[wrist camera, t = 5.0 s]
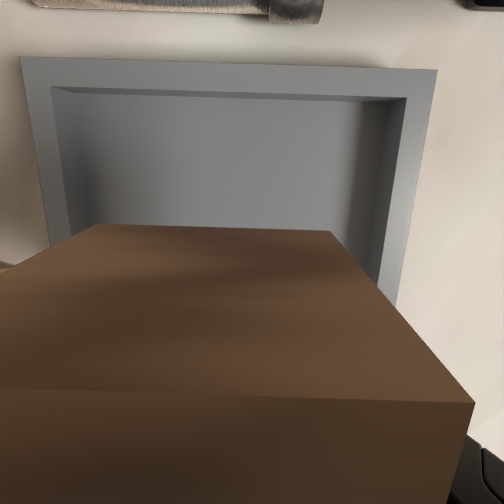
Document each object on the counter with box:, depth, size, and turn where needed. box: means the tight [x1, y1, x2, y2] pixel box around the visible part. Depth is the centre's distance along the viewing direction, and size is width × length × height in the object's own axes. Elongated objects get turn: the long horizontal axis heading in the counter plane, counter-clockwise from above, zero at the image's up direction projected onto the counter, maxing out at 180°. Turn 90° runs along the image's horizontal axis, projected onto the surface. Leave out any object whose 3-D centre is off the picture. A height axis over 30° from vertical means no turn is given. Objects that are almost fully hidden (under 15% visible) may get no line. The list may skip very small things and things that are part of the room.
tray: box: [20, 56, 438, 307], centre depth 16 cm, size 16×16×2 cm
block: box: [0, 224, 475, 504], centre depth 7 cm, size 6×6×6 cm
